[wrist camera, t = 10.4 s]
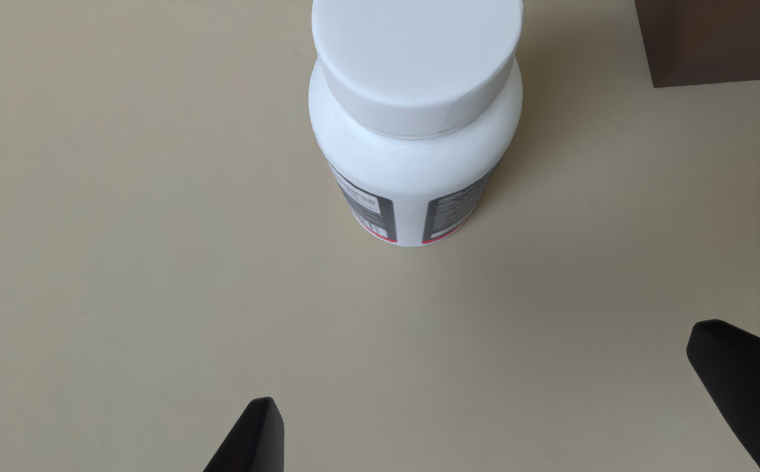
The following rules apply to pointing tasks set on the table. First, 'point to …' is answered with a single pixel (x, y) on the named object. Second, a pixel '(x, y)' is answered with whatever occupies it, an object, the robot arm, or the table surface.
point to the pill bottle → (415, 107)
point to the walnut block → (701, 40)
